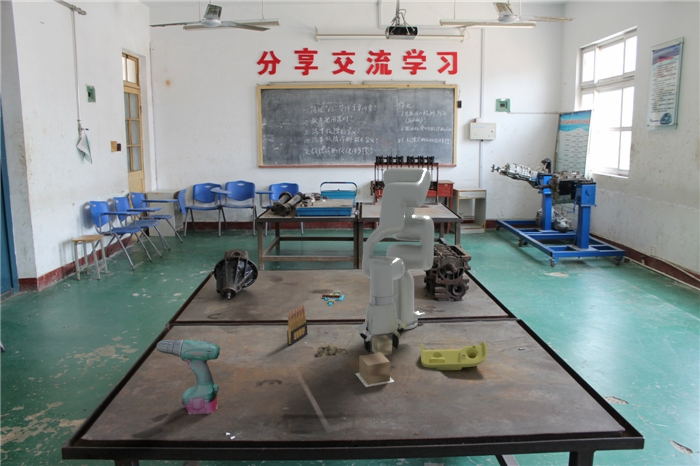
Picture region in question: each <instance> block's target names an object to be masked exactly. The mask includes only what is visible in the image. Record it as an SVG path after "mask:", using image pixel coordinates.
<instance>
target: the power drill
mask: <svg viewBox="0 0 700 466" xmlns="http://www.w3.org/2000/svg"><path fill="white" fill-rule="evenodd" d="M156 350H157V351H158V352H160V353H162V354H167V355H172V356H175V357H178V358H180V359H181V360H182V361H183V362H186V363H187V369H189V370H191V371H192V372H193V373H194V375H195V379H196V383H197V384H196V385H194V386H192V387H189V388H187V389H186V390H185V391H184V392H183V394H182V398H181V404H182V405H183V407H184V408H185V409H186V410H187V414H188V415H203V414H213V413H214V412H215V410H218V407H219V404H218V393H219V385H218V384H217V383H215V382H214V378H213V374H212V372H211V369H210V367H209V364H208V361H211V360H217V359H219V356H220V352H221V349H220V346H219V345H218V344H217V343H214V342H213V343H211V342H207V341H205V340H204V341H203V340H193V339H177V340H175V339H165V340H160V341H158V342H157V343H156Z"/></svg>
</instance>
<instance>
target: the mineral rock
mask: <svg viewBox="0 0 700 466" xmlns="http://www.w3.org/2000/svg"><path fill="white" fill-rule="evenodd" d="M316 350H317V351H316V354H317V358H318V357H319V358H322V357H323V358H324V357H333V356H343V355H347V354H348V351H347V349H346V348H343V347H342V348H341V347H339V346H333V345H332V343H329V344H327V345H325V346H320V347H317V349H316Z"/></svg>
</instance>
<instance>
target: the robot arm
mask: <svg viewBox="0 0 700 466" xmlns="http://www.w3.org/2000/svg"><path fill="white" fill-rule="evenodd" d="M431 180H432V177H431V172H430V171H429V169H427V168H423V167H390V168H388V169H386V170H384V171H383V174H382V181H383V184H384V187H383V189H382V195H381V204H380V206H381V207H380V212H379V214H380V215H379V221H378V223H379V224H378V226H377V227H376V229H374V230H373V232H371V233H370V235H369V236H368V238H367V239H366V240H365V241H366V242H365V243H364V246H363V253H362V260H361V270H362V271H361V272H362V274H363V276H364V277H366V278H369V302H367V305H366V309H365V319H364V322H363V323H362V324H360V325H358V326H357V327H356V329H355V330H356V332H357V334H358V335H359V336H360V337H361V339H363V342H364V343H363V348H364V350H365V351H366V352H367V353H369V354H371V352H372V349H371V348H372V345H371V344H372V341H370V340H371V339H372V337H373V336H377V335H378V336H380V335H387V334H392V335H391V338H392V339H391V340H392V348H394V349H396V350H397V349H399V345H400V338H401V334H403V332H404V330H411V329H415V328H416V327H418V326H419V321H418V319H425V318H426V317H427V315H426V312H420V311H415V278H414V276H413V275H412V273H411V270H412V271H429V270H430V269H432V267H433V265H434V256H435V255H434V254H435V252H434V248H435V225H434V220H433V218H432V217H430V216H429V215H418V214H417V215H416V214H415V209H416V208H420V207H422V206H423V205H424V203H425V200H426V198H427V195H428V192H429V190H430V188H431V187H430V186H431ZM389 236H392V237H393V239H395V240H399V241H412V242H413V241H417V242H420V244H415V243H393V244H391V245H390V246H388V248H386V249H387V250H386V254H385V255H386V256H384V255H373V254H374V249H375V247H376V245H378V243H379V242H380V241H382V240H383V239H385V238H387V237H389ZM409 270H410V271H409ZM363 330H365V333H363Z"/></svg>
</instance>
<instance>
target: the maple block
mask: <svg viewBox="0 0 700 466" xmlns="http://www.w3.org/2000/svg"><path fill="white" fill-rule="evenodd" d="M371 344H372V345H371V348H372V349H371V352H373V354H374V353H380V352H381V353H382V354H383V355H384V356H389V355H393V346H392V339H391V338H390V337H389V336H388V335H387V334H383V335H378V336H377V335H376V336H372V337H371Z"/></svg>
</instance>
